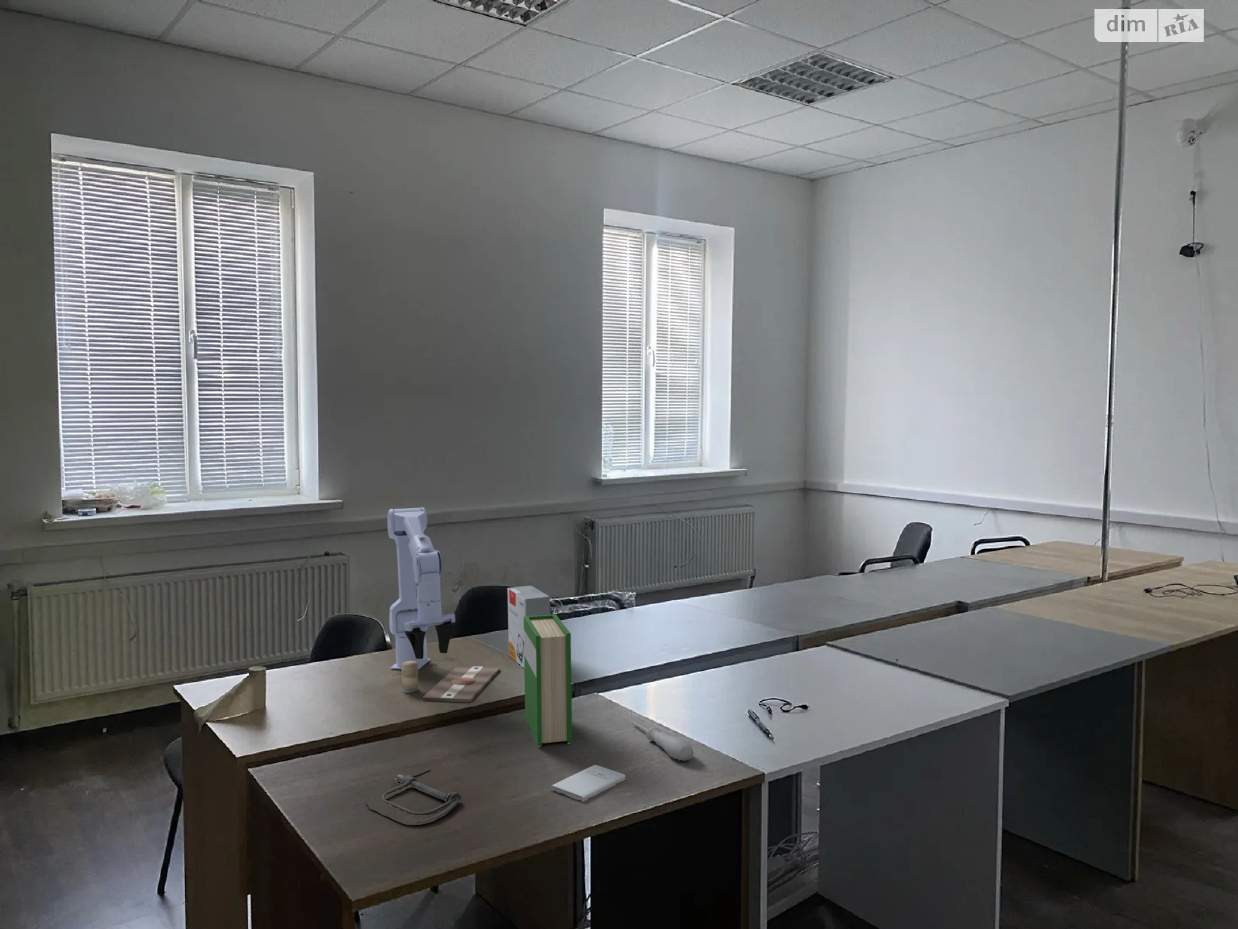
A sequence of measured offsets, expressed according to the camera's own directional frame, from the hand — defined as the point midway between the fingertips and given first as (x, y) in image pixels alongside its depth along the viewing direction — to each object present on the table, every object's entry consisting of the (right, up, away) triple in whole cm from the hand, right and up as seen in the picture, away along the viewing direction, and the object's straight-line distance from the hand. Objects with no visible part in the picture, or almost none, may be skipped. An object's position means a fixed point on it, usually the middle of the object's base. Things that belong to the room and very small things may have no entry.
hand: (431, 655), depth 223 cm
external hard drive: (+41, -14, -51) cm, 67 cm away
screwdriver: (+55, -12, -31) cm, 64 cm away
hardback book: (+31, -12, -24) cm, 41 cm away
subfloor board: (+6, -9, +9) cm, 14 cm away
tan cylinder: (-6, -10, +5) cm, 13 cm away
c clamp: (+10, -15, -57) cm, 60 cm away
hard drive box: (+21, -8, +29) cm, 37 cm away
